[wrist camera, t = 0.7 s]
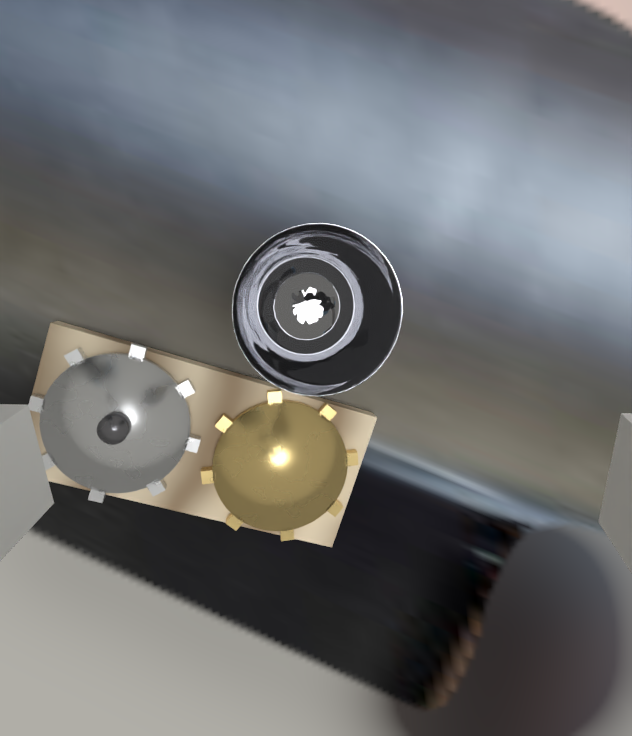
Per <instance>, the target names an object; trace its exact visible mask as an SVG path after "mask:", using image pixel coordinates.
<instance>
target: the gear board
mask: <svg viewBox="0 0 632 736" xmlns="http://www.w3.org/2000/svg"><path fill="white" fill-rule="evenodd" d="M28 406H29V409H30V413H31V417H32V421H33V425H34V429H35V432H36V436H37V440H38V444H39V448H40V451H41V455H42V459H43V463H44V467H45V471H46V474H47V478H48V481H50V482H55V483H59V484H63V485H67V486H72V487H76V488H80V489H84V490H89V491H90V494H89V497H88V500H91V501H95V502H100V503H103V501H104V499H105V497H106V495H110V496H114V497H119V498H123V499H127V500H132V501H136V502H140V503H144V504H149V505H153V506H157V507H161V508H166V509H170V510H174V511H179V512H183V513H187V514H191V515H196V516H200V517H204V518H208V519H213V520H217V521H221V522H226V524H227V525H229V526H230V527H232V528H233V529H234V530H236V531H237V529H238V528H239V527H240V526H243V527H247V528H251V529H255V530H260V531H264V532H268V533H273V534H277V535H280V536H281V541H286V540H294V539H298V540H302V541H307V542H311V543H315V544H320V545H324V546H328V547H332V546H333V543H334V540H335V537H336V534H337V531H338V528H339V526H340V523H341V520H342V517H343V514H344V511H345V508H346V506H347V503H348V500H349V497H350V494H351V491H352V488H353V485H354V483H355V480H356V477H357V474H358V471H359V468H360V465H361V463H362V460H363V457H364V454H365V451H366V448H367V445H368V443H369V440H370V437H371V434H372V431H373V428H374V425H375V423H376V420H377V417H376V416H375V415H374V414H373V413H372V412H369V411H365V410H362V409H359V408H355V407H352V406H348V405H345V404H341V403H338V402H335V401H331V400H328V399H324V398H321V397H317V396H304V395H300V394H295V393H291V392H288V391H286V390H284V389H281V388H279V387H277V386H275V385H274V384H272V383H269V382H266V381H263V380H259V379H256V378H252V377H249V376H246V375H242V374H239V373H235V372H232V371H228V370H225V369H222V368H218V367H215V366H211V365H208V364H204V363H201V362H198V361H194V360H191V359H187V358H184V357H180V356H177V355H174V354H170V353H167V352H163V351H160V350H156V349H153V348H150V347H148V346H144V345H141V344H137V343H132V342H129V341H126V340H122V339H119V338H115V337H112V336H109V335H105V334H102V333H98V332H95V331H91V330H88V329H85V328H81V327H78V326H74V325H71V324H67V323H64V322H61V321H55V322H51V323H50V327H49V330H48V334H47V338H46V342H45V346H44V350H43V354H42V358H41V361H40V365H39V369H38V373H37V377H36V381H35V385H34V388H33V392H32V395H31V397H30V401H29V405H28Z"/></svg>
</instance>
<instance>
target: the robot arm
mask: <svg viewBox="0 0 632 736" xmlns="http://www.w3.org/2000/svg"><path fill="white" fill-rule="evenodd" d="M53 504H54V501H53V497H52V494H51V490H50V486H49V482H48V478H47V474H46V471H45V467H44V463H43V459H42V455H41V451H40V448H39V444H38V440H37V436H36V432H35V429H34V425H33V421H32V417H31V413H30V409H29V406H28V405H18V404H0V561H1V560H2V559H3V558H4V556H5V555H6V554H7V553H8V552H9V551H10V550H11V549H12V548H13V547H14V546H15V545H16V544H17V542H18V541H19V540H20V539H21V538H22V537H23V536H24V535H25V534H26V533H27V532H28V531H29V530H30V528H31V527H32V526H33V525H34V524H35V523H36V522H37V521H38V520H39V519H40V518H41V517H42V516H43V514H44V513H45V512H46V511H47V510H48V509H49V508H50V507H51V506H52V505H53ZM599 523H600V525H601V527H602V528H603V530H604V531H605V533H606V534H607V536H608V537H609V539H610V540H611V542H612V544H613V545H614V547H615V548H616V550H617V551H618V553H619V554H620V556H621V558H622V559H623V561H624V562H625V564H626V565H627V567H628V568H629V570H630V572H631V573H632V413H621V417H620V422H619V426H618V431H617V436H616V441H615V445H614V450H613V455H612V460H611V464H610V469H609V474H608V479H607V484H606V488H605V493H604V498H603V503H602V507H601V512H600V517H599Z"/></svg>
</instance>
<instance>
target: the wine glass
mask: <svg viewBox="0 0 632 736" xmlns="http://www.w3.org/2000/svg"><path fill="white" fill-rule="evenodd" d="M402 315H403V306H402V295H401V290H400V286H399V282H398V279H397V277H396V275H395V272H394V270H393V268H392V266H391V265H390V263H389V261H388V260H387V258H386V257H385V256H384V254H383V253H382V252H381V251H380V250H379V249H378V248H377V247H376V246H375V245H374V244H373V243H372V242H370V241H369V240H368V239H366V238H365V237H364V236H362V235H360V234H358V233H356V232H354V231H352V230H350V229H348V228H344V227H341V226H338V225H333V224H324V223H314V224H303V225H299V226H295V227H291V228H288V229H286V230H284V231H282V232H280V233H277V234H275V235H274V236H272V237H271V238H269V239H268V240H267V241H265V242H264V243H262V244H261V245H260V246H259V247H258V248H257V249H256V250H255V251H254V252H253V254H252V255H251V256H250V257H249V259H248V260H247V262H246V263H245V265H244V266H243V268H242V270H241V272H240V274H239V277H238V279H237V281H236V285H235V289H234V293H233V299H232V320H233V328H234V331H235V335H236V338H237V342H238V344H239V346H240V348H241V350H242V352H243V354H244V356H245V357H246V358H247V360H248V361H249V363H250V364H251V365H252V367H253V368H254V369H255V370H256V371H257V372H258V373H259V374H260V375H261V376H262V377H264V378H265V379H266V380H268V381H269V382H271V383H272V384H274V385H275V386H277V387H279V388H281V389H284V390H286V391H288V392H291V393H295V394H300V395H304V396H327V395H334V394H338V393H341V392H345V391H348V390H350V389H352V388H354V387H356V386H358V385H360V384H361V383H363V382H364V381H366V380H367V379H368V378H370V377H371V376H372V375H373V374H374V373H375V372H376V371H377V370H378V369H379V368H380V367H381V366H382V365H383V364H384V362H385V361H386V360H387V358H388V357H389V355H390V354H391V352H392V350H393V348H394V346H395V344H396V342H397V339H398V335H399V332H400V328H401V323H402Z"/></svg>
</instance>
